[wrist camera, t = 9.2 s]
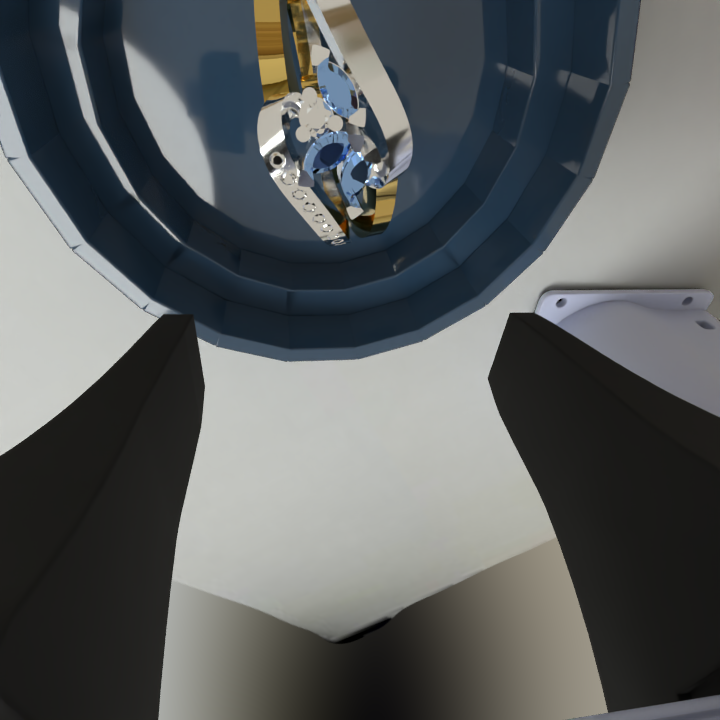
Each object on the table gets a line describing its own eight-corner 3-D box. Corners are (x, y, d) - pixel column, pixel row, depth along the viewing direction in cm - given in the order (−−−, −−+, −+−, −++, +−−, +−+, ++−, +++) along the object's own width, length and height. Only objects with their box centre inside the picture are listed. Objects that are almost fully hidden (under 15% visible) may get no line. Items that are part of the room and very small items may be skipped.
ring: (236, -48, 13) (205, -68, 7) (349, -64, 13) (415, -98, 7) (287, 196, 18) (296, 314, 11) (371, 182, 18) (424, 292, 12)
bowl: (633, -251, 12) (799, -354, 8) (483, 289, 22) (527, 354, 18) (-71, -392, 10) (-298, -635, 6) (120, 292, 20) (84, 368, 16)
